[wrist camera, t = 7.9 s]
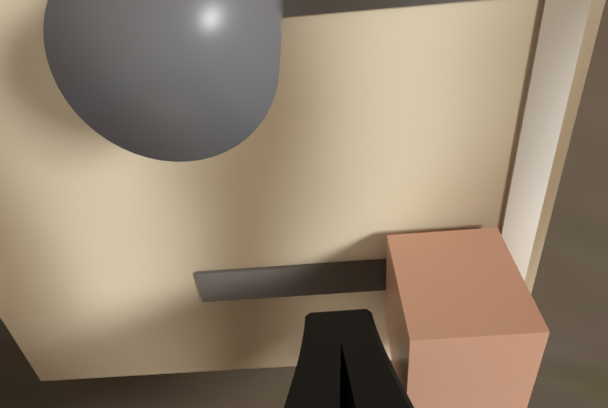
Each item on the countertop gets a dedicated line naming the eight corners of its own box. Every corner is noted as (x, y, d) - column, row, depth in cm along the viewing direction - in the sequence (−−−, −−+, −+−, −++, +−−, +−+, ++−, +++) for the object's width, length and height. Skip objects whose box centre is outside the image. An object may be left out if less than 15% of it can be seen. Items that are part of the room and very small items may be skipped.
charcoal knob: (141, 82, 10) (88, 169, 7) (93, -90, 8) (2, -53, 5) (291, 69, 9) (290, 154, 7) (274, -108, 8) (263, -79, 5)
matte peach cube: (385, 322, 14) (404, 430, 11) (387, 235, 12) (409, 341, 9) (481, 316, 13) (521, 424, 11) (497, 227, 12) (549, 332, 9)
